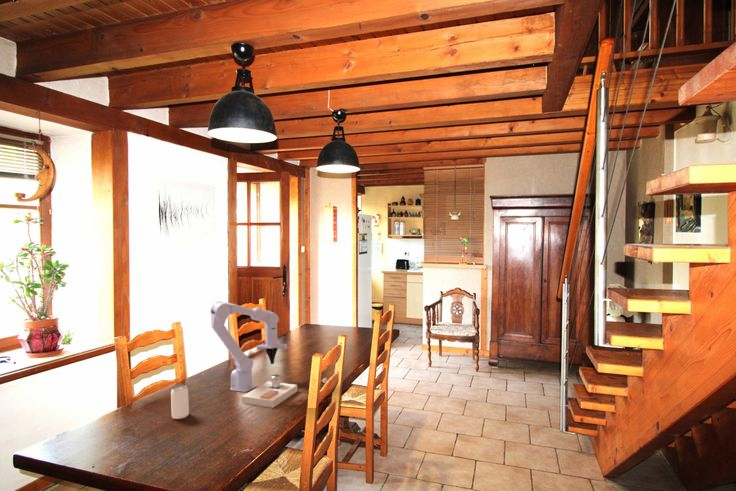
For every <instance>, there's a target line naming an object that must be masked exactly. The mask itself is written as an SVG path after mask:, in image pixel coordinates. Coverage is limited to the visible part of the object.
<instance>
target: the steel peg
mask: <svg viewBox="0 0 736 491" xmlns="http://www.w3.org/2000/svg"><path fill="white" fill-rule="evenodd" d="M281 378H282V374H279V373H278V374H272V375H270V379H271V382H272V389H280V388H281V383H282V381H281Z"/></svg>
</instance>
